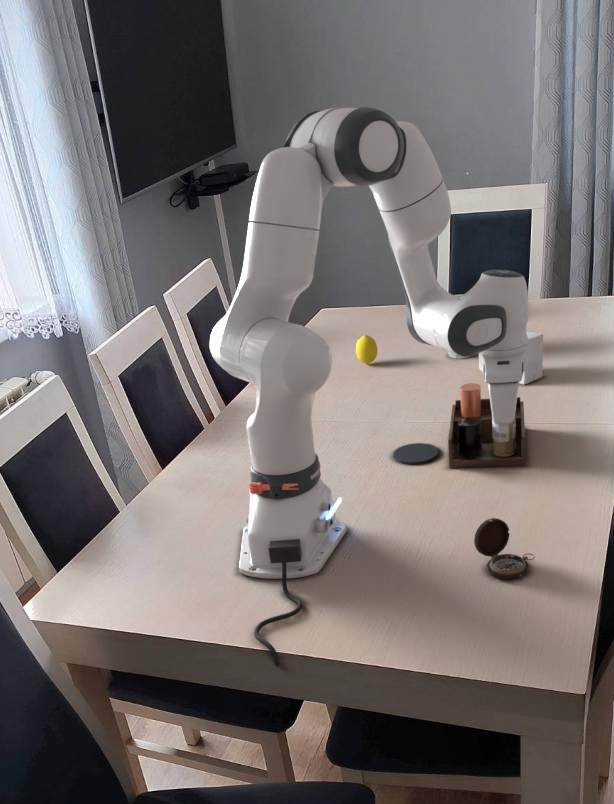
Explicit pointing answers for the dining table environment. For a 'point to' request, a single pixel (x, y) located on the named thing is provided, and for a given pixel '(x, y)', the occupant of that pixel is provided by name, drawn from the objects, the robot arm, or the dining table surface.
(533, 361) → the cosmetics box
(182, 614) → the dining table surface
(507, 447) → the sprinkles bottle
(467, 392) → the terracotta spice jar
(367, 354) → the lemon
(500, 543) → the compass
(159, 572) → the dining table surface
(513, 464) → the spice rack
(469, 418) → the black spice tin
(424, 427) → the dining table surface
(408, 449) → the coaster
